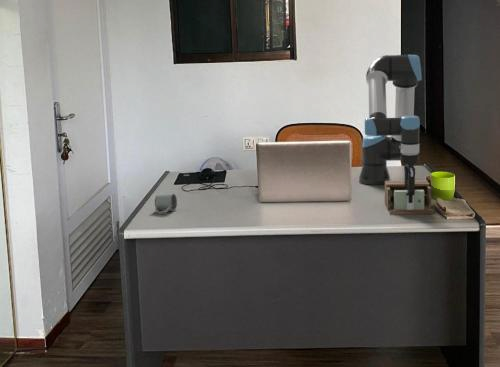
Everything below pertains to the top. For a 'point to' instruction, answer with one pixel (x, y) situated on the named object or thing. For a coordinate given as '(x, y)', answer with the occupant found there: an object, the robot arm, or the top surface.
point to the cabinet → (400, 185)
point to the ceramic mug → (165, 203)
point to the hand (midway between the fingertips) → (409, 208)
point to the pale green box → (401, 200)
